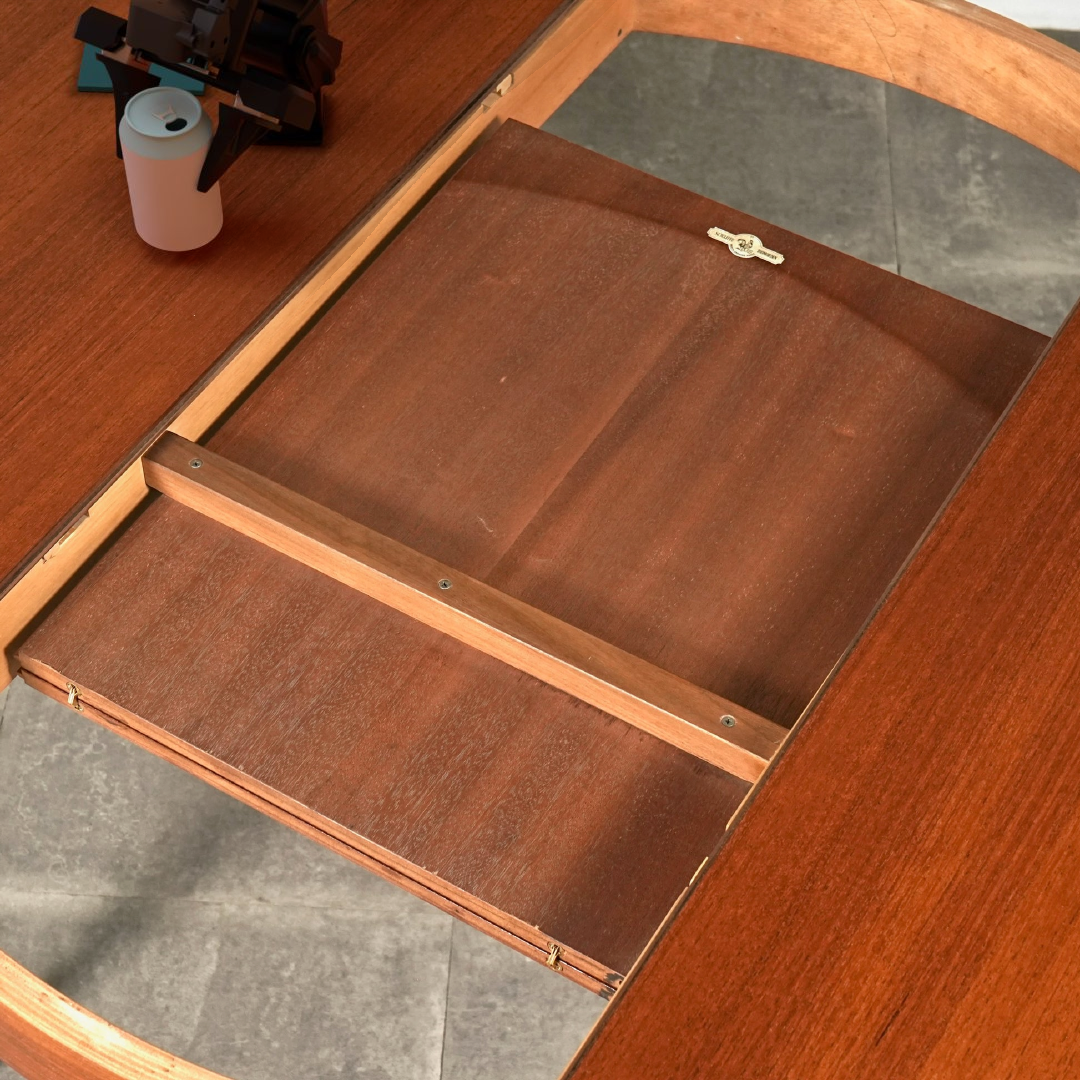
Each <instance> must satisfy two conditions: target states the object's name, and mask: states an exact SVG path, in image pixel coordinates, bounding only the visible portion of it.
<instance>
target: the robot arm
mask: <svg viewBox="0 0 1080 1080" xmlns="http://www.w3.org/2000/svg"><path fill="white" fill-rule="evenodd" d="M127 15H128V16H127V18H124V17H121V16H118V15H116V14H113V13H110V12H108V11H105V10H103V9H101V8H98V7H95V6H93V5H90V6H89V7H88V8H87V9H86V10H84V11H83V12H81V14H80V15H79V16H78V17H77V20H76V23H75V25H74V29H73V32H72V35H71V38H73V39H75V40H77V41H81V42H83V43H84V44H85V43H88V44H90V45H93V46H95V47H98V48H100V49H102V52H101V54H99V53H96V52H95V57H96V60H98V61H101V62H102V63H103V64H104V65H105V67H106V70H107V72H108V74H109V76H110V79H111V81H112V86H113V92H112V93H113V99H114V100H113V101H114V117H115V118H114V119H115V151H116V158H117V159H119V160H122V161H124V158H123V153H122V147H121V141H120V135H119V126H120V122H121V119H122V117H123V116H124V114H125V108H126V105H127V103H128V102H129V101H130V99H131V98H132V97H134V96H135V95H136V94H138V93H140V92H142V91H144V90H147V89H150V88H154V87H159V84H160V82H161V79H162V78H161V77H158V76H156V75H153V74H151V73H148V72H149V68H150V66H151V63H155V64H157V65H160V66H162V67H165V68H167V69H170V70H172V71H175V72H177V73H180V74H182V75H185V76H187V77H190V78H192V79H195V80H197V81H200V82H202V83H205V85H208V86H210V87H212V88H215V89H218V90H220V91H223V92H225V93H228V94H230V95H233V96H234V102H233V104H232V105H229V104H226V103H224V102H222V101H219V102H218V125H217V128H216V131H215V133H214V138H213V141H212V144H211V146H210V149H209V151H208V154H207V157H206V159H205V162H204V165H203V167H202V170H201V173H200V177H199V181H198V185H197V191H199V192H202V193H207V192H208V191H209V190H210V188H211V187H212V186H213V185H214V184H215V183H216V182H217V181H218V180H219V181H220V179H221V178H222V177H223V176H224V174H225V173H226V172H227V171H228V170H229V169H230V168H231V167H232V166H233V165H234V163H236V161H237V160H238V159H239V158H240V157H241V156H242V155H243V154H244V153H245V152H246V151H247V150H248V149H249V148H251V147H252V146H253V145H254V144H262V145H263V144H264V145H265V144H266V145H267V144H268V145H293V146H294V145H295V146H321V145H323V144H324V141H325V139H324V138H325V134H324V133H325V122H326V121H325V119H326V101H327V99H326V98H327V97H326V95H325V94H324V87H325V86H331V85H334V83H335V82H336V70H337V69H338V68H339V67H340V65H341V60H342V57H343V55H342V52H343V47H344V42H343V41H342V40H340V39H338V38H336V37H335V36H332V35H331V34H329V17H328V16H329V14H328V0H129V8H128V14H127ZM189 58H191V60H190V63H188V62H186V61H187V60H188V59H189ZM207 61H208V63H209V62H210V63H211V65H210V67H213V68H216V69H218V71H217V73H215V72H213V71H211V70H209V69H207V70H206V69H205V66H206V63H207ZM178 63H180V64H182V65H180V64H178ZM183 65H185V66H187V67H185V66H183ZM188 67H190V68H192V69H190V68H188ZM193 69H195V70H193ZM196 70H197V71H196ZM198 71H200V72H198ZM201 72H202V73H201ZM203 73H205V74H203ZM206 74H207V75H206Z"/></svg>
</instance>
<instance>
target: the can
mask: <svg viewBox="0 0 1080 1080" xmlns="http://www.w3.org/2000/svg"><path fill="white" fill-rule="evenodd" d="M213 126H214V125H213V121H212V119H211V117H210V115H209V113H208V112H207V111H206V110H205V109H204V108H203V106H202V104H201V102H200V100H199V99H198V98H197V97H196V95H193V94H191V93H189V92H187V91H185V90H183V89H180V88H175V87H154V88H150V89H147V90H144V91H142V92H140V93H138V94H136V95H135V96H134V97H132V98H131V99H130V101H129V102H128V103H127V105H126V108H125V114H124V116H123V117H122V119H121V122H120V126H119V135H120V141H121V147H122V153H123V158H124V160H123V162H124V163H123V164H124V170H125V175H126V181H127V186H128V192H129V198H130V202H131V203H130V204H131V209H132V215H133V216H132V217H133V221H134V227H135V229H136V233H137V234H138V236H139V237H140V238H141V239H142V240H143V241H144V242H146V243H147V244H148V245H150V246H152V247H154V248H157V249H159V250H163V251H169V252H186V251H191V250H195V249H199V248H201V247H203V246H205V245H207V244H209V243H210V242H211V241H213V240H214V239H216V237H217V235H219V233H220V232H221V229H222V227H223V224H224V215H223V205H222V196H221V189H220V187H221V186H220V179H219V180H218V181H217V182H216V183H215V184H214V185H213V186H212V187H211V188H210V190H209V191H208V192H207V193H202V192H199V191H197V185H198V181H199V177H200V173H201V170H202V167H203V165H204V162H205V159H206V157H207V154H208V151H209V149H210V146H211V144H212V141H213V138H214V136H215V133H214V127H213Z"/></svg>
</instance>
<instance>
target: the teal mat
mask: <svg viewBox="0 0 1080 1080" xmlns="http://www.w3.org/2000/svg"><path fill="white" fill-rule="evenodd" d="M95 52H96V53H99V54H101V52H102V49H100V48H98V47H95V46H93V45H90V44H88V43H85V42H84V49H83V53H82V57H81V58H82V59H81V63H80V68H79V74H78V79H77V85H76V87H77V91H78V92H92V93H93V92H96V93H113V86H112V81H111V79H110V76H109V74H108V72H107V70H106V67H105V65H104V64H103V63H102V62H101V61H98V60H96V57H95ZM190 60H191V58H189V59H188V60H187V61H186V62H188V63H190ZM178 64H180V63H178ZM180 65H182V64H180ZM183 66H185V65H183ZM185 67H187V66H185ZM208 67H209V61H207V63H206V66H205V69H206V70H208ZM188 68H190V67H188ZM190 69H192V68H190ZM193 70H195V69H193ZM196 71H197V70H196ZM198 72H200V71H198ZM148 73H151V74H153V75H156V76H158V77H161V78H162V79H161V82H160V84H159V87H175V88H180V89H183V90H185V91H187V92H189V93H191V94H193V95H194V96H200V97H201V96H202V97H203V96H205V90H206V84H205V83H202V82H200V81H197V80H195V79H192V78H190V77H187V76H185V75H182V74H180V73H177V72H175V71H172V70H170V69H167V68H165V67H162V66H160V65H157V64H155V63H151V66H150V68H149V72H148ZM201 73H202V72H201ZM203 74H205V73H203ZM206 75H207V74H206Z"/></svg>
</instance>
